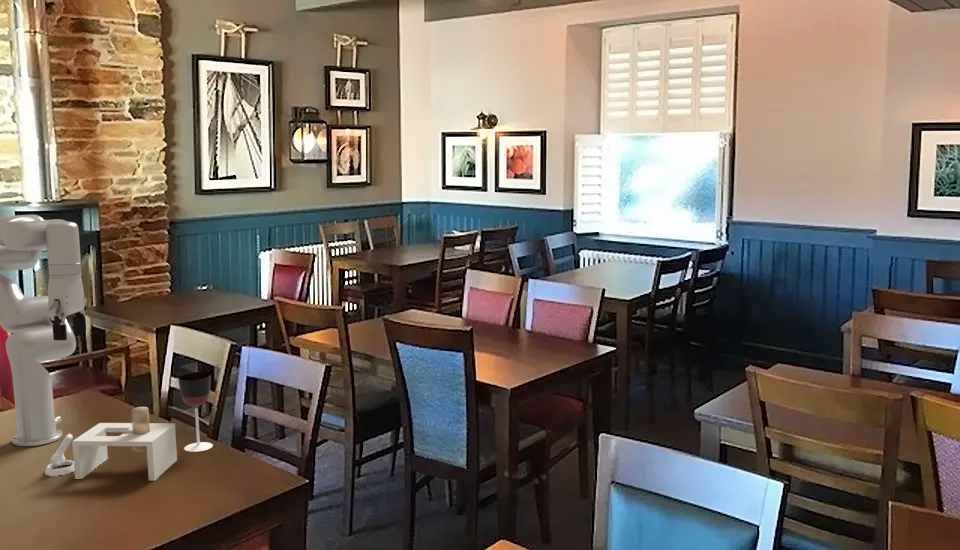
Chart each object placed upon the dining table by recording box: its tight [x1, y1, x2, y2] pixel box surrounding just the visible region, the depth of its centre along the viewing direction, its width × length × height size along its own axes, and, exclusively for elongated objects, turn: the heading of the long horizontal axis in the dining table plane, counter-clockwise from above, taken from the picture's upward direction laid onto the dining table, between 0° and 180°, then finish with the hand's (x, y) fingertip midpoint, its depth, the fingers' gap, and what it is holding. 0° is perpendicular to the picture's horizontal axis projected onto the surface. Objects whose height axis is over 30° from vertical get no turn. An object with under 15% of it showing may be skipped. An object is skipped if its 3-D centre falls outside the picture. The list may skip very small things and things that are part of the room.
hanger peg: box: [130, 406, 150, 453], centre depth 213 cm, size 5×5×10 cm
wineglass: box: [178, 371, 214, 453], centre depth 230 cm, size 8×9×20 cm
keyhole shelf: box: [71, 422, 178, 482], centre depth 214 cm, size 20×14×10 cm
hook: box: [44, 433, 75, 477], centre depth 214 cm, size 8×12×7 cm
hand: (70, 335), depth 218 cm, fingers open, 9 cm apart
